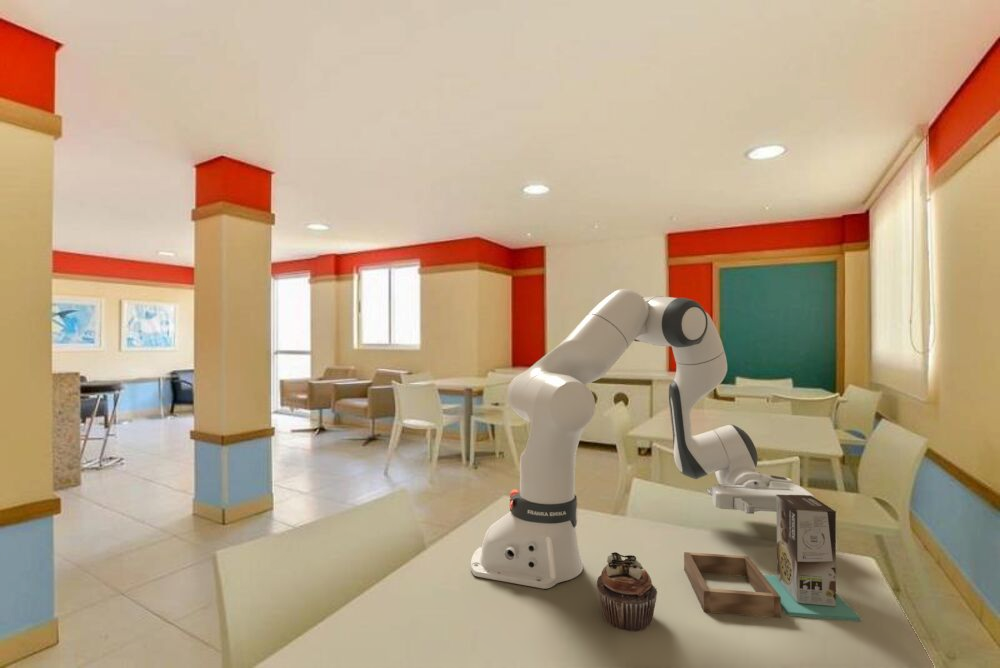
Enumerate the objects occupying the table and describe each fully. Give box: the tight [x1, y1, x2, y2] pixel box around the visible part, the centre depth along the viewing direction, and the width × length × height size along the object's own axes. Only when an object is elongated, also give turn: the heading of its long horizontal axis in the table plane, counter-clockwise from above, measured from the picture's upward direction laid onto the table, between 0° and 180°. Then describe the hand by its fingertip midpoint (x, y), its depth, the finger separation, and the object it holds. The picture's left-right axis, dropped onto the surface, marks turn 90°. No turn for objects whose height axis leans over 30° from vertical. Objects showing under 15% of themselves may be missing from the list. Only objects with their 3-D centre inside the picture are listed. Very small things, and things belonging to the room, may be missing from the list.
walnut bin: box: [683, 551, 782, 619], centre depth 88 cm, size 12×15×4 cm
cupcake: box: [596, 551, 658, 632], centre depth 80 cm, size 10×10×10 cm
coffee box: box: [776, 495, 837, 606], centre depth 87 cm, size 9×6×16 cm
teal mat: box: [763, 574, 862, 622], centre depth 86 cm, size 11×13×1 cm
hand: (775, 511), depth 99 cm, fingers open, 8 cm apart
